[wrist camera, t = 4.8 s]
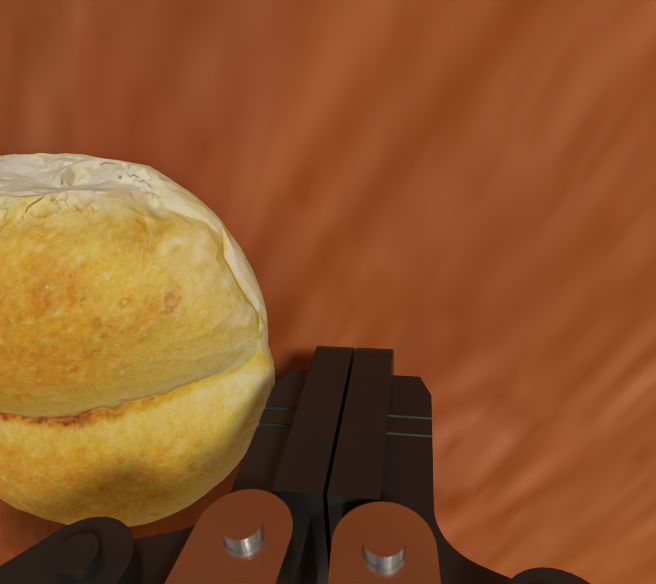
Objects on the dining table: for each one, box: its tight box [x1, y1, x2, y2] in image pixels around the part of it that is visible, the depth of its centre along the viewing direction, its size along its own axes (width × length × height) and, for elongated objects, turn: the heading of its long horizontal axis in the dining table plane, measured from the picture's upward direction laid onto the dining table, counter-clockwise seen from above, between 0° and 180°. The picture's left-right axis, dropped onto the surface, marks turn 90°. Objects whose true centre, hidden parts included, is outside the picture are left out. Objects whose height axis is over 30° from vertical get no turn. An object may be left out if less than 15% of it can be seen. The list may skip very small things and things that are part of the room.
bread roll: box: [0, 153, 275, 527], centre depth 11 cm, size 8×9×4 cm
